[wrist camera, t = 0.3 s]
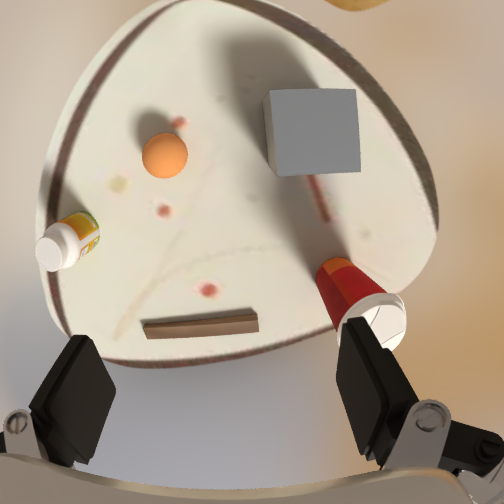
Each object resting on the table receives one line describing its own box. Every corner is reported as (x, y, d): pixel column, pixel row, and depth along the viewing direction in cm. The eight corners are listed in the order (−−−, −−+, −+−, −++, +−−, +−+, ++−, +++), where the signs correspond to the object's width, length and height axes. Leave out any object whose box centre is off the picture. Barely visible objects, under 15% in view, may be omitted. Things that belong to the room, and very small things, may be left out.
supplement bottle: (67, 210, 34) (26, 230, 25) (100, 210, 34) (63, 230, 25) (71, 248, 36) (34, 276, 27) (103, 249, 36) (70, 279, 27)
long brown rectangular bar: (147, 318, 41) (143, 328, 38) (256, 309, 41) (257, 320, 38) (151, 328, 42) (147, 339, 39) (258, 321, 41) (259, 331, 39)
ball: (147, 137, 31) (132, 138, 27) (188, 129, 31) (179, 129, 27) (153, 177, 33) (140, 185, 29) (193, 171, 33) (186, 177, 29)
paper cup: (333, 310, 41) (369, 374, 28) (296, 280, 39) (325, 344, 26) (371, 271, 39) (423, 323, 26) (336, 236, 37) (386, 282, 24)
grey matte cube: (262, 100, 30) (269, 90, 22) (328, 98, 30) (355, 89, 22) (268, 165, 33) (277, 177, 25) (332, 161, 33) (360, 172, 25)
